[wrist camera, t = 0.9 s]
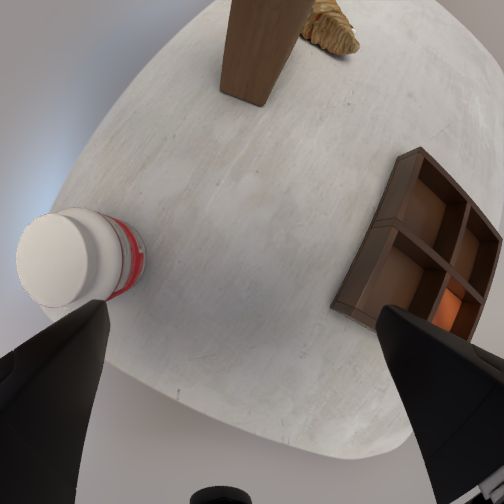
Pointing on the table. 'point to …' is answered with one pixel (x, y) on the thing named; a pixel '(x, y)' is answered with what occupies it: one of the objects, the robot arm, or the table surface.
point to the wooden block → (260, 45)
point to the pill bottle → (78, 258)
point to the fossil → (330, 28)
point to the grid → (423, 252)
